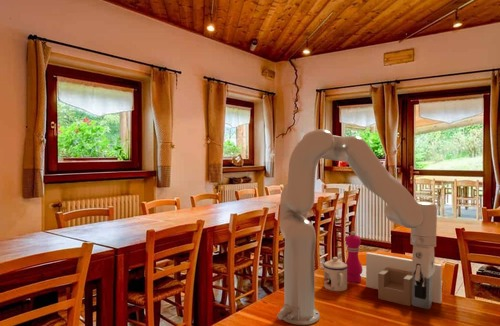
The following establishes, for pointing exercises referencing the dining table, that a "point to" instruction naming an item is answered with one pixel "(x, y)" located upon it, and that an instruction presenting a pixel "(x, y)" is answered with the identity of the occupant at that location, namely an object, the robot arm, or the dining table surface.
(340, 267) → the teacup with lid
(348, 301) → the dining table surface
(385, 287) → the upright white panel
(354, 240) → the pepper mill
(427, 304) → the blue-grey rectangular block
